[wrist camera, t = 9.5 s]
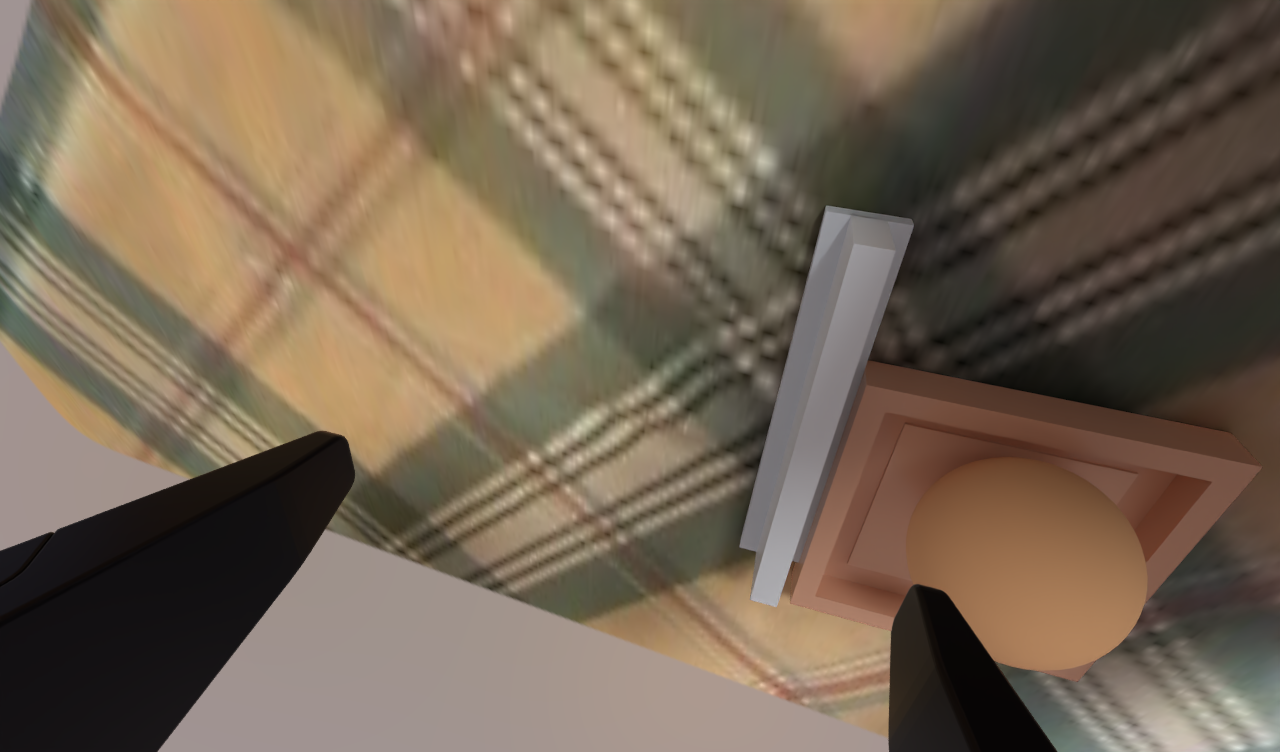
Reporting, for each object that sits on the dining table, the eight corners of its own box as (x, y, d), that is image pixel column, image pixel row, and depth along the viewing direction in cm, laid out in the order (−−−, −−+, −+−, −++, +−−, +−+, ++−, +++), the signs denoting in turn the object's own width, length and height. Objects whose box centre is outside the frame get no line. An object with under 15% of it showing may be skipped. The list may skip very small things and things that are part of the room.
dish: (1231, 433, 18) (1263, 467, 17) (1063, 644, 24) (1077, 682, 22) (864, 359, 20) (866, 385, 18) (791, 572, 26) (789, 603, 24)
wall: (911, 218, 17) (925, 255, 15) (799, 551, 25) (795, 612, 22) (826, 205, 18) (825, 239, 15) (741, 536, 25) (731, 594, 23)
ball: (1093, 468, 20) (1234, 508, 14) (1051, 640, 21) (1172, 748, 15) (907, 428, 21) (968, 449, 15) (869, 591, 22) (914, 674, 16)
